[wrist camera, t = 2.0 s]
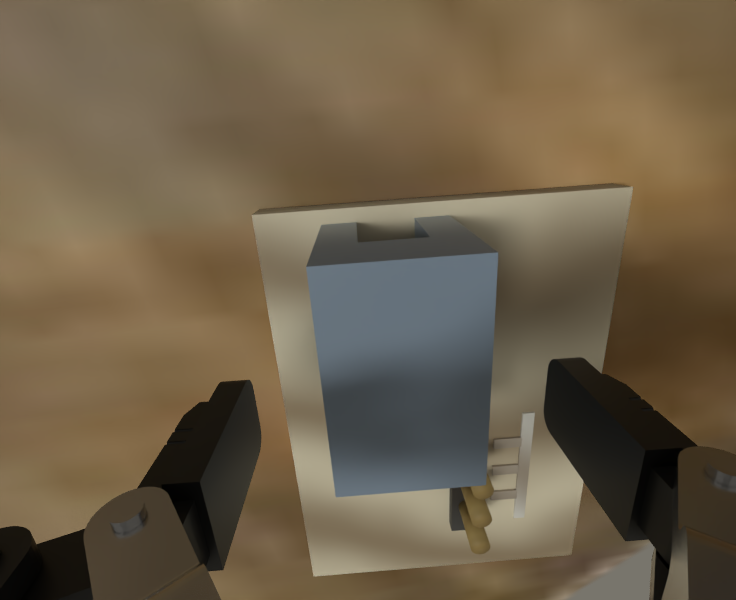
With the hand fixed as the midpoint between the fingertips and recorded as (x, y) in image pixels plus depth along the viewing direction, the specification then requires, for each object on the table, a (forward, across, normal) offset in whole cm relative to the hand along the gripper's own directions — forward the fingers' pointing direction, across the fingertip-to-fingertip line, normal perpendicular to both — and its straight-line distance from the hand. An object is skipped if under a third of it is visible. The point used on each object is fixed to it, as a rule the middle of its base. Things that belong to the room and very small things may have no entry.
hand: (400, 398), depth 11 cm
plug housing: (+5, 0, -1) cm, 5 cm away
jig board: (+6, -2, +4) cm, 8 cm away
